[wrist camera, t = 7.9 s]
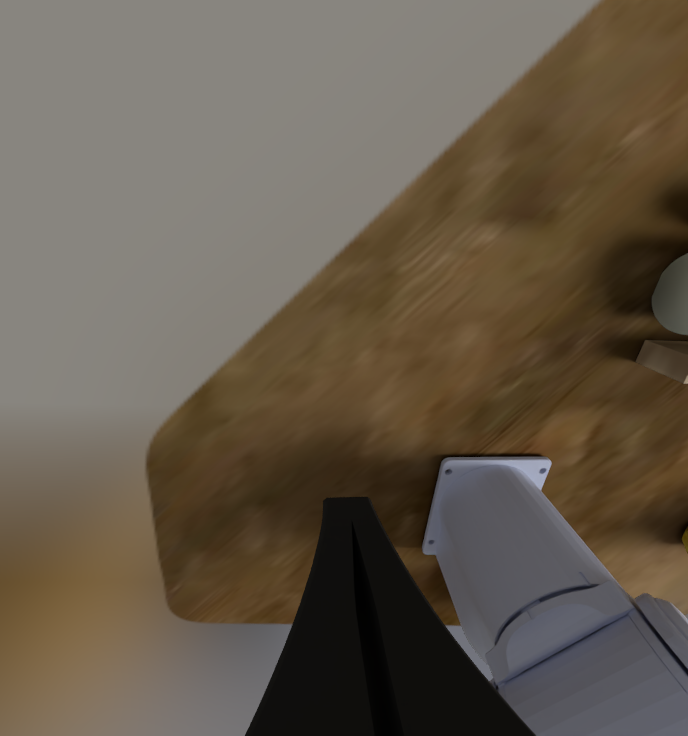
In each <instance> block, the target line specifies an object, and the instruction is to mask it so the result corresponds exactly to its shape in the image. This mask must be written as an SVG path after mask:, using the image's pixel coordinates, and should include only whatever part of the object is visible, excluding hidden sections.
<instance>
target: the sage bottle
mask: <svg viewBox="0 0 688 736" xmlns="http://www.w3.org/2000/svg"><path fill="white" fill-rule="evenodd" d="M652 308H653V312H654V315H655V317H656V318H657V320H658V321H659V323H660V324H661V325H662V326H664V327H665V328H666V329H668V330H670V331H672V332H675V333H678V334H682V335H688V253H687V254H685V255H683V256H681V257H680V258H678V259H676V260H675V261H674V262H672V263H671V264H670V265H669V266H668V267H667V268H666V269H665V270H664V271H663V273H662V274H661V276H660V279H659V281H658V284H657V286H656V288H655V291H654V293H653V295H652Z"/></svg>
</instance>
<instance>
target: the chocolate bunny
mask: <svg viewBox="0 0 688 736" xmlns="http://www.w3.org/2000/svg"><path fill="white" fill-rule="evenodd" d="M682 541H683V544H684V546H685V548H686V551H687V553H688V527H687V528H686V530H685V532H684V534H683V537H682Z"/></svg>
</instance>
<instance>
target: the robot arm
mask: <svg viewBox="0 0 688 736" xmlns="http://www.w3.org/2000/svg"><path fill="white" fill-rule="evenodd" d="M550 466H551V461H550V460H549V459H548V458H547V457H448V458H445V459H444V460H443V461H442V462H441V466H440V470H439V475H438V479H437V483H436V488H435V492H434V497H433V501H432V505H431V510H430V514H429V518H428V523H427V527H426V531H425V536H424V540H423V545H422V551H423V553H424V554H426V555H436V557H437V560H438V563H439V566H440V568H441V571H442V574H443V577H444V579H445V582H446V585H447V588H448V590H449V593H450V596H451V599H452V601H453V604H454V607H455V610H456V612H457V615H458V618H459V621H460V623H461V626H462V629H463V631H464V634H465V636H466V638H467V640H468V641H469V643H470V645H471V646H472V648H473V649H474V650H475V652H476V653H477V654H478V655H479V656H480V657H481V659H482V660H483V661H484V662H485V663H486V664H488V665H489V668H490V670H491V673H492V675H493V679H492V680H491V681H488V680H487V678H486V677H485V676H484V675H483V674H482V673H481V671H480V670H479V669H478V668H477V667H476V665H475V664H474V663H473V662H472V660H471V659H470V658H469V657H468V655H467V654H466V653H465V651H464V650H463V649H462V648H461V646H460V645H459V644H458V642H457V641H456V640H455V639H454V637H453V636H452V635H451V633H450V632H449V631H448V629H447V628H446V626H445V625H444V624H443V622H442V621H441V620H440V618H439V617H438V615H437V614H436V613H435V611H434V610H433V608H432V607H431V605H430V604H429V602H428V601H427V600H426V598H425V596H424V595H423V593H422V592H421V590H420V589H419V587H418V586H417V584H416V583H415V581H414V580H413V578H412V577H411V575H410V573H409V572H408V570H407V568H406V567H405V565H404V563H403V562H402V560H401V558H400V557H399V555H398V553H397V552H396V550H395V548H394V546H393V545H392V543H391V541H390V539H389V537H388V535H387V534H386V532H385V530H384V528H383V526H382V524H381V522H380V520H379V518H378V516H377V514H376V511H375V509H374V507H373V505H372V502H371V500H370V499H369V498H368V497H340V498H326V499H325V500H324V501H323V518H322V525H321V531H320V536H319V541H318V545H317V549H316V552H315V556H314V560H313V564H312V568H311V571H310V575H309V578H308V581H307V584H306V587H305V590H304V593H303V596H302V599H301V603H300V605H299V608H298V611H297V614H296V617H295V619H294V622H293V625H292V628H291V630H290V633H289V635H288V638H287V640H286V643H285V646H284V648H283V651H282V653H281V655H280V658H279V660H278V663H277V665H276V667H275V670H274V672H273V675H272V677H271V679H270V682H269V684H268V686H267V689H266V691H265V693H264V696H263V698H262V700H261V702H260V704H259V707H258V709H257V711H256V713H255V716H254V717H253V720H252V722H251V724H250V727H249V728H248V730H247V732H246V734H245V736H688V619H687V618H686V617H685V616H684V615H683V614H682V613H681V612H680V611H679V610H678V609H677V608H676V607H675V606H674V605H673V604H672V603H670V602H668V601H665V600H662V599H659V598H654V597H652V596H651V595H649V594H647V593H644V594H641V595H640V596H638V597H636V598H635V599H634V598H632V597H631V596H630V595H629V594H628V593H626V592H625V591H624V589H623V588H622V587H621V586H620V585H619V583H618V582H617V581H616V580H615V579H614V577H613V576H612V575H611V574H610V573H609V571H608V570H607V569H606V568H605V567H604V565H603V564H602V563H601V562H600V561H599V560H598V558H597V557H596V556H595V555H594V554H593V552H592V551H591V550H590V549H589V548H588V546H587V545H586V544H585V543H584V542H583V540H582V539H581V538H580V537H579V536H578V535H577V533H576V532H575V531H574V530H573V529H572V527H571V526H570V525H569V524H568V523H567V521H566V520H565V519H564V518H563V517H562V515H561V514H560V513H559V512H558V511H557V509H556V508H555V507H554V506H553V505H552V504H551V502H550V501H549V500H548V499H547V498H546V496H545V495H544V494H543V493H542V492H541V489H542V486H543V484H544V481H545V479H546V476H547V474H548V471H549V469H550ZM448 469H449V470H448ZM446 470H448V471H446Z"/></svg>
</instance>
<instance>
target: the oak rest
mask: <svg viewBox="0 0 688 736" xmlns="http://www.w3.org/2000/svg"><path fill="white" fill-rule="evenodd" d="M635 362H636V363H638V364H641V365H643V366H645V367H647V368H650V369H652V370H654V371H656V372H659V373H661V374H663V375H665V376H668V377H670V378H672V379H674V380H677V381H679V382H681V383H688V341H663V340H645V342H644V344H643V346H642V348H641V351H640V353H639V355H638V357H637V359H636V361H635Z"/></svg>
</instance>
